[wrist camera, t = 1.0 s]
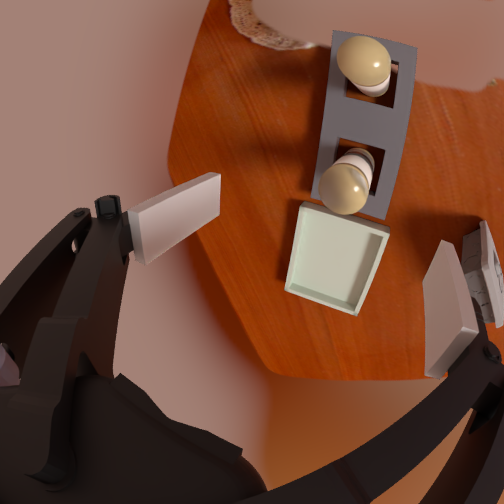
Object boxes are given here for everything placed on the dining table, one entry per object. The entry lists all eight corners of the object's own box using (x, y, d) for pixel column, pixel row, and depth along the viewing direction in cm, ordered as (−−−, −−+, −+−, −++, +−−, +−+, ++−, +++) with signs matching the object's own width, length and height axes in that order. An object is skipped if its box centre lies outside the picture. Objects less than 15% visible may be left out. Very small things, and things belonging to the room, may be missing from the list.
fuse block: (336, 34, 22) (332, 30, 20) (415, 51, 19) (417, 47, 17) (314, 192, 33) (310, 197, 31) (384, 214, 29) (384, 220, 28)
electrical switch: (502, 275, 24) (515, 323, 17) (472, 289, 28) (477, 338, 21) (484, 216, 23) (502, 255, 16) (451, 233, 27) (458, 276, 20)
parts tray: (304, 200, 34) (299, 205, 32) (389, 227, 30) (389, 233, 28) (289, 282, 41) (284, 290, 39) (358, 307, 37) (356, 316, 36)
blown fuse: (345, 143, 28) (322, 159, 19) (377, 152, 27) (373, 173, 17) (339, 174, 30) (314, 206, 21) (370, 183, 29) (361, 220, 19)
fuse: (357, 61, 22) (338, 32, 13) (390, 69, 21) (393, 42, 12) (353, 92, 25) (334, 79, 15) (386, 100, 23) (388, 90, 14)
